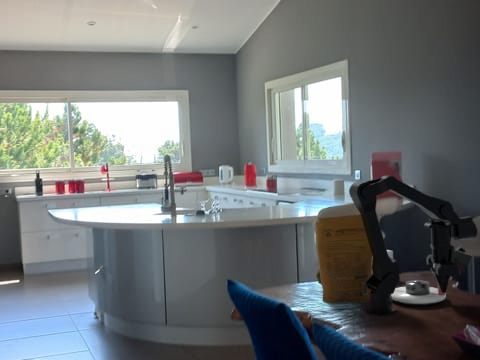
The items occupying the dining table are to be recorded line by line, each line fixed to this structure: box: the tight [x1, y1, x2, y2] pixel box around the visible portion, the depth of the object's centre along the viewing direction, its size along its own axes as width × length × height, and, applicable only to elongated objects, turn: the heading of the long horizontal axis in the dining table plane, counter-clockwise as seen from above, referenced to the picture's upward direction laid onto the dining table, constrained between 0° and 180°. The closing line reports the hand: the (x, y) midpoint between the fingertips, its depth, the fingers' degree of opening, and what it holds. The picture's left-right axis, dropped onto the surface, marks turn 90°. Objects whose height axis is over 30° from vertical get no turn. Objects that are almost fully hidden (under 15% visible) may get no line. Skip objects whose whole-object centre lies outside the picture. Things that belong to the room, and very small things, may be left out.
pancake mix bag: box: [314, 214, 372, 304], centre depth 180 cm, size 7×19×28 cm, turn 84°
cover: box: [404, 279, 431, 296], centre depth 177 cm, size 7×7×4 cm
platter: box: [391, 284, 447, 304], centre depth 177 cm, size 17×17×5 cm
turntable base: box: [399, 302, 438, 307], centre depth 177 cm, size 12×12×1 cm
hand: (443, 292), depth 170 cm, fingers closed
